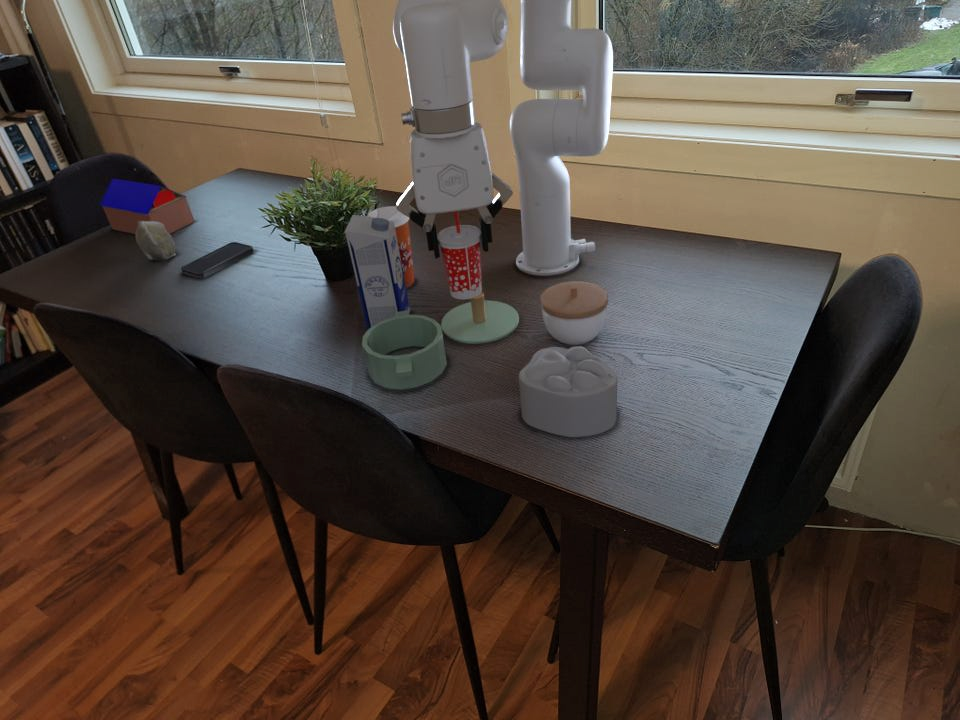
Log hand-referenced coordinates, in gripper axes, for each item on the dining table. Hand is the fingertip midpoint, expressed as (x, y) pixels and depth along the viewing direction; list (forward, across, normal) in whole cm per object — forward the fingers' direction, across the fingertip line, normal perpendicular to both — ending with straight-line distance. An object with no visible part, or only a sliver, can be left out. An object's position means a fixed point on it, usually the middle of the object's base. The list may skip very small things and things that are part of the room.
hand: (460, 249), depth 91 cm
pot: (+22, -11, +5) cm, 25 cm away
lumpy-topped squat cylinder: (+22, +12, -12) cm, 28 cm away
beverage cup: (+7, 0, 0) cm, 7 cm away
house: (+22, -77, +87) cm, 118 cm away
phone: (+22, -53, +57) cm, 81 cm away
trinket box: (+22, +17, +7) cm, 29 cm away
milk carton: (+22, -14, +20) cm, 33 cm away
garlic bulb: (+22, -68, +65) cm, 97 cm away
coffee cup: (+22, -12, +35) cm, 43 cm away
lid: (+21, +2, +15) cm, 26 cm away
